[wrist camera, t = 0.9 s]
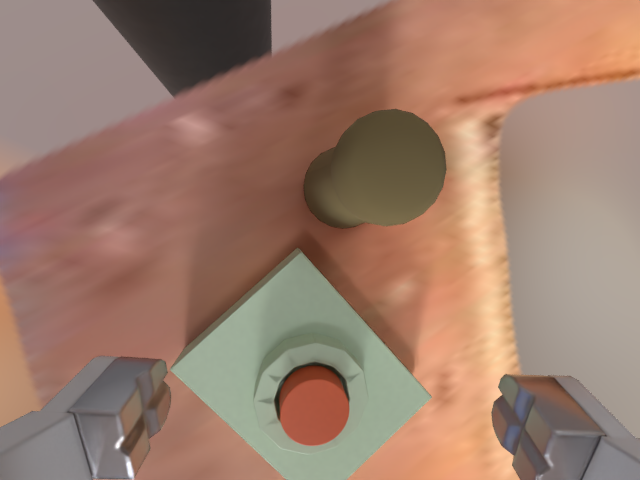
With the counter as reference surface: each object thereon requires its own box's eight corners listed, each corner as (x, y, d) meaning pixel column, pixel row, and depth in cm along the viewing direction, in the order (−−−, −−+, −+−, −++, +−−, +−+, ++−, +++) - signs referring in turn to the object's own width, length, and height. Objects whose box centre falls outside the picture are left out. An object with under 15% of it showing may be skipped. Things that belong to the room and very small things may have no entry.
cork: (398, 181, 24) (497, 152, 14) (350, 244, 24) (413, 266, 13) (336, 129, 24) (390, 54, 13) (286, 195, 23) (298, 175, 12)
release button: (265, 396, 19) (265, 414, 18) (314, 351, 20) (318, 364, 18) (308, 439, 20) (312, 460, 18) (356, 395, 20) (363, 411, 19)
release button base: (183, 348, 23) (159, 384, 18) (297, 247, 24) (304, 254, 19) (311, 472, 25) (320, 534, 20) (413, 375, 26) (445, 412, 21)
